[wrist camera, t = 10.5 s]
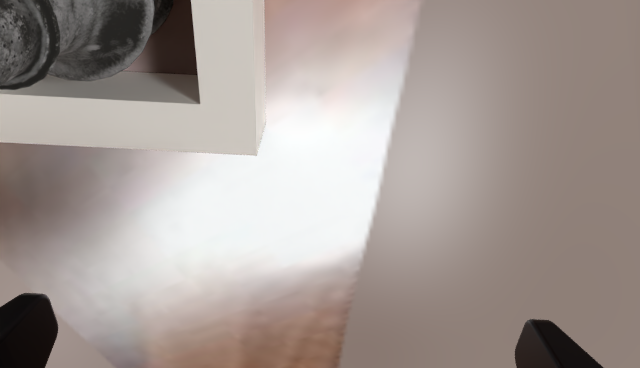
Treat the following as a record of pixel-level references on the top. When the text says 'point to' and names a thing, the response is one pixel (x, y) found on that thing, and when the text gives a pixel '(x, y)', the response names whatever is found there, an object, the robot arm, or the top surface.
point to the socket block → (159, 96)
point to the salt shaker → (73, 38)
